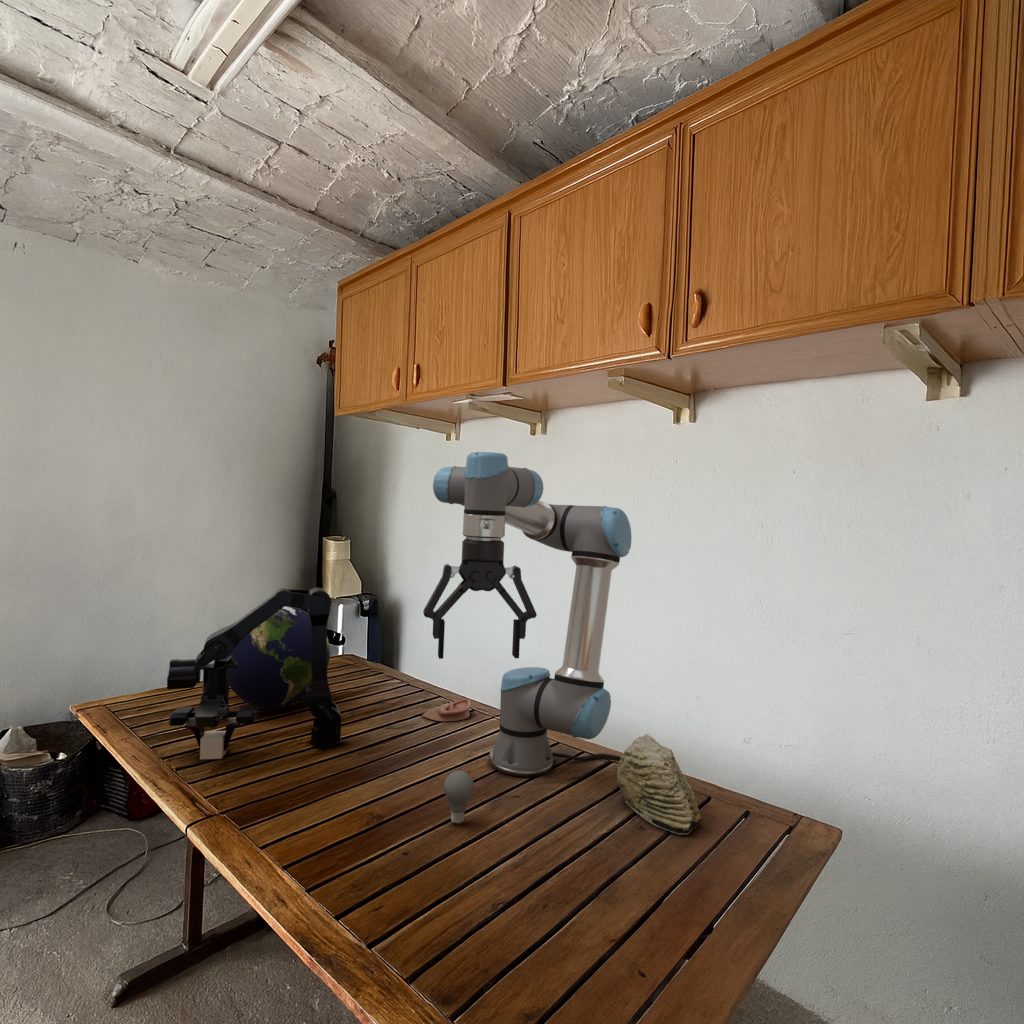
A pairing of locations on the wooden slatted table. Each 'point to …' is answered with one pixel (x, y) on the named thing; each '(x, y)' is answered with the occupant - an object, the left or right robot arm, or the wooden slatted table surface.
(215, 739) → the block
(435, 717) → the anatomical model
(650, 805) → the fossil
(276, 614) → the globe
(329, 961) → the wooden slatted table surface
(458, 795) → the light bulb
